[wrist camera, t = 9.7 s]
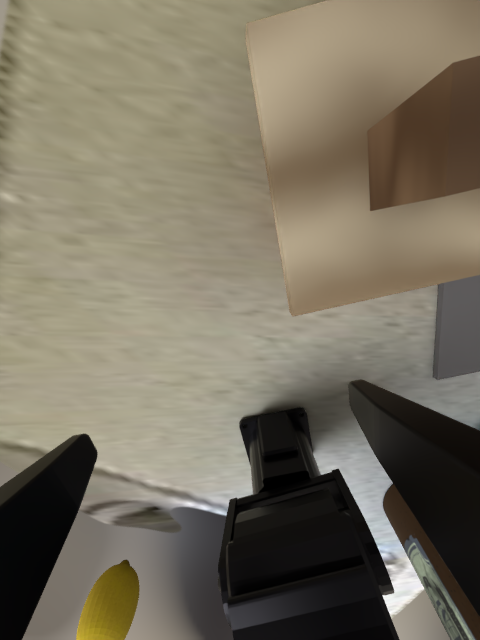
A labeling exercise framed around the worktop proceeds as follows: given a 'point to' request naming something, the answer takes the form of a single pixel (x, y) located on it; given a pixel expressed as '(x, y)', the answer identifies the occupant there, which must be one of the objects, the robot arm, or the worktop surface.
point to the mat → (457, 328)
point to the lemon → (110, 605)
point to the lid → (370, 145)
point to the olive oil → (432, 571)
